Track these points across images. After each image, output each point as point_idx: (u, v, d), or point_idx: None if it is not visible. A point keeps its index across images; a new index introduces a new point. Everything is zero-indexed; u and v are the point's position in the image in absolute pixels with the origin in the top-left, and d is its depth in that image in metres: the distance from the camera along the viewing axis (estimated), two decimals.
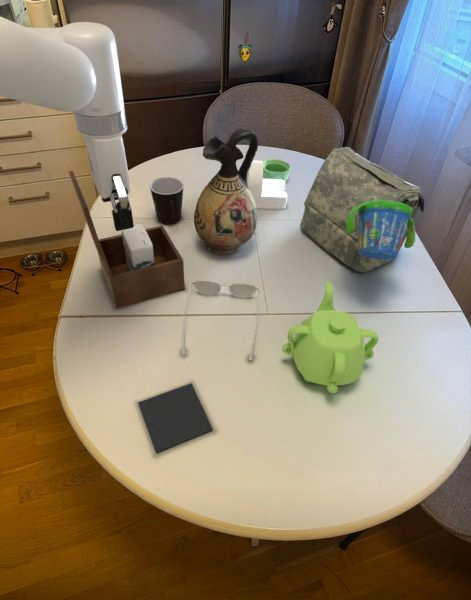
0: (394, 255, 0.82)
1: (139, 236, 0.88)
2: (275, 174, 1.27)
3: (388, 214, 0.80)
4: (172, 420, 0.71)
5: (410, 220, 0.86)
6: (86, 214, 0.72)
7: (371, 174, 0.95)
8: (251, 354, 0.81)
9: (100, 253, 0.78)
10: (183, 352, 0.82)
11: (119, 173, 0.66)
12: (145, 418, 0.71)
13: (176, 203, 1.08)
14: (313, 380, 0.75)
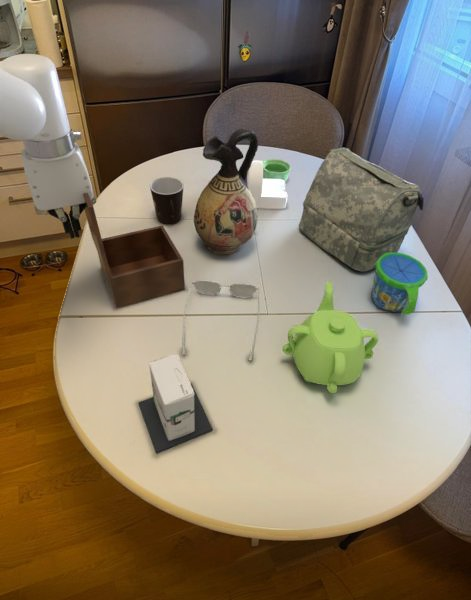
0: None
1: (175, 377, 0.64)
2: (275, 174, 1.27)
3: None
4: None
5: None
6: (91, 213, 0.72)
7: (370, 174, 0.96)
8: (251, 354, 0.81)
9: (102, 252, 0.78)
10: (183, 352, 0.82)
11: (29, 186, 0.71)
12: (145, 418, 0.71)
13: (176, 203, 1.08)
14: (313, 380, 0.75)
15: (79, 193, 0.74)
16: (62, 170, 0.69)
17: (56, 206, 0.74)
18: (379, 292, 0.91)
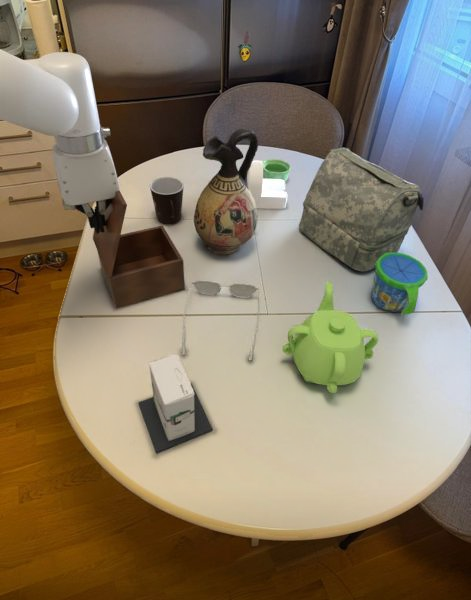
0: None
1: (175, 377, 0.64)
2: (275, 174, 1.27)
3: None
4: None
5: None
6: (122, 210, 0.74)
7: (370, 174, 0.96)
8: (251, 354, 0.81)
9: (114, 251, 0.79)
10: (183, 352, 0.82)
11: (58, 181, 0.72)
12: (145, 418, 0.71)
13: (176, 203, 1.08)
14: (313, 380, 0.75)
15: (106, 189, 0.75)
16: (91, 166, 0.71)
17: (84, 201, 0.75)
18: (379, 292, 0.91)
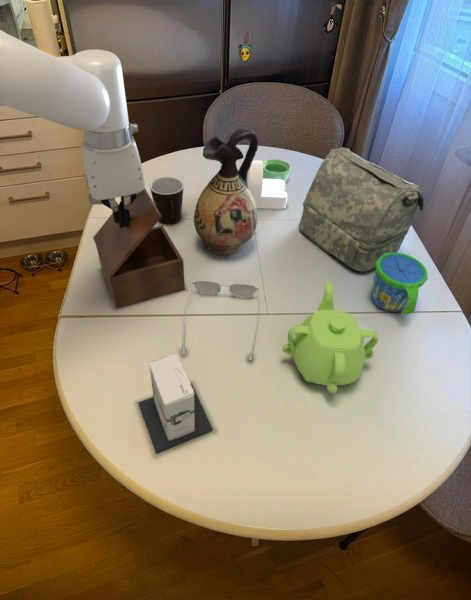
0: None
1: (175, 377, 0.64)
2: (275, 174, 1.27)
3: None
4: None
5: None
6: (155, 220, 0.79)
7: (370, 174, 0.96)
8: (251, 354, 0.81)
9: (127, 254, 0.81)
10: (183, 352, 0.82)
11: (86, 176, 0.74)
12: (145, 418, 0.71)
13: (176, 203, 1.08)
14: (313, 380, 0.75)
15: (132, 184, 0.77)
16: (119, 161, 0.73)
17: (110, 196, 0.77)
18: (379, 292, 0.91)
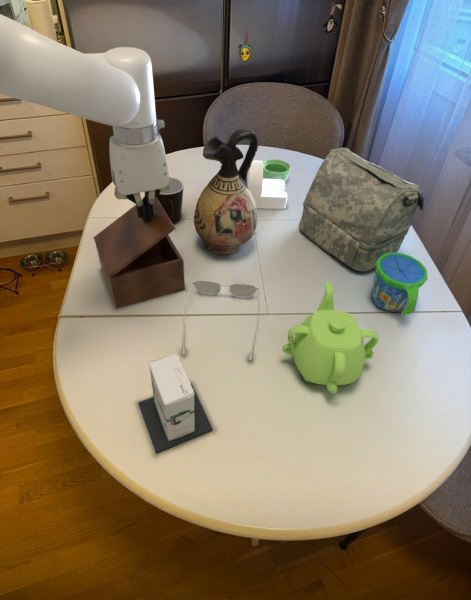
0: None
1: (175, 377, 0.64)
2: (275, 174, 1.27)
3: None
4: None
5: None
6: (169, 230, 0.82)
7: (370, 174, 0.96)
8: (251, 354, 0.81)
9: (133, 258, 0.82)
10: (183, 352, 0.82)
11: (113, 171, 0.75)
12: (145, 418, 0.71)
13: (176, 203, 1.08)
14: (313, 380, 0.75)
15: (157, 179, 0.78)
16: (146, 157, 0.74)
17: (136, 191, 0.78)
18: (379, 292, 0.91)
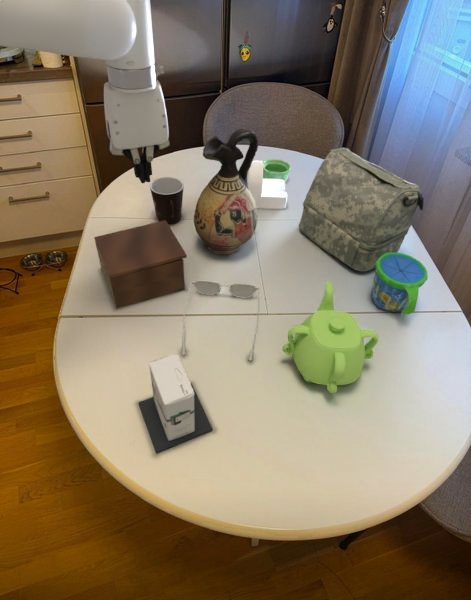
0: None
1: (175, 377, 0.64)
2: (275, 174, 1.27)
3: None
4: None
5: None
6: (181, 256, 0.88)
7: (370, 174, 0.96)
8: (251, 354, 0.81)
9: (140, 268, 0.85)
10: (183, 352, 0.82)
11: (108, 122, 0.69)
12: (145, 418, 0.71)
13: (176, 203, 1.08)
14: (313, 380, 0.75)
15: (156, 132, 0.72)
16: (143, 105, 0.68)
17: (133, 145, 0.72)
18: (379, 292, 0.91)
